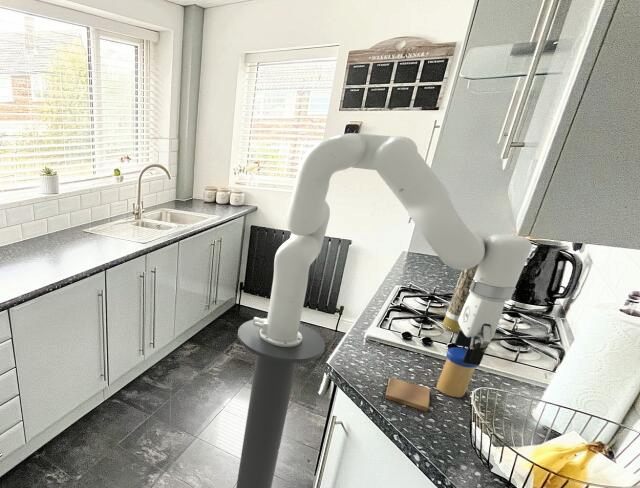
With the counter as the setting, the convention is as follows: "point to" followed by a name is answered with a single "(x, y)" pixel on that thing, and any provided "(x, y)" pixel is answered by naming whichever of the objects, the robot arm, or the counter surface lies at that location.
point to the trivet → (408, 394)
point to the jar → (454, 379)
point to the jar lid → (458, 356)
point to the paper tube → (459, 299)
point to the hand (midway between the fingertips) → (466, 354)
